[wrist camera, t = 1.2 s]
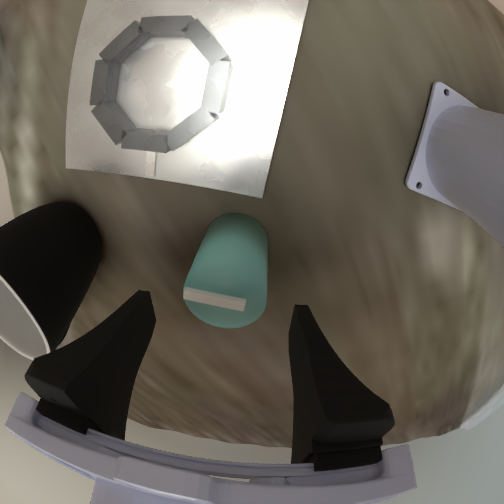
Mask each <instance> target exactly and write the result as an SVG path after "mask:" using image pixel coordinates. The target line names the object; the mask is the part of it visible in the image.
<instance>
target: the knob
mask: <svg viewBox="0 0 504 504" xmlns="http://www.w3.org/2000/svg"><path fill="white" fill-rule="evenodd" d="M267 269H268V238H267V234H266V232H265V230H264V228H263V227H262V225H261V224H260V223H259V222H258V221H257V220H255V219H254V218H252V217H250V216H248V215H245V214H240V213H229V214H225V215H222V216H220V217H218V218H216V219H215V220H214V221H213V222H212V223H211V224H210V225H209V227H208V229H207V231H206V233H205V235H204V238H203V240H202V242H201V245H200V247H199V249H198V252H197V254H196V257H195V259H194V261H193V264H192V266H191V269H190V271H189V273H188V276H187V278H186V281H185V284H184V287H183V299H184V301H185V303H186V305H187V307H188V308H189V310H190V311H191V312H192V313H193V314H194V315H195V316H196V317H197V318H199V319H200V320H202V321H204V322H205V323H208V324H210V325H213V326H217V327H222V328H238V327H243V326H246V325H249V324H251V323H253V322H254V321H256V320H257V319H258V318H259V317H260V316H261V315H262V314H263V312H264V310H265V308H266V304H267Z"/></svg>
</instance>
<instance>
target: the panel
mask: <svg viewBox="0 0 504 504" xmlns="http://www.w3.org/2000/svg"><path fill="white" fill-rule="evenodd" d="M308 1H309V0H88V1H87V4H86V7H85V11H84V14H83V18H82V22H81V25H80V30H79V34H78V38H77V43H76V48H75V53H74V58H73V64H72V70H71V77H70V85H69V94H68V105H67V120H66V168H69V169H80V170H89V171H98V172H107V173H115V174H123V175H130V176H138V177H145V178H152V179H158V180H165V181H171V182H177V183H183V184H189V185H195V186H201V187H207V188H212V189H217V190H223V191H228V192H233V193H238V194H243V195H248V196H253V197H258V198H262V197H263V192H264V188H265V184H266V180H267V175H268V171H269V167H270V162H271V158H272V154H273V150H274V145H275V141H276V137H277V132H278V128H279V124H280V120H281V115H282V111H283V107H284V103H285V98H286V94H287V90H288V86H289V81H290V77H291V73H292V69H293V64H294V60H295V56H296V52H297V48H298V43H299V39H300V35H301V31H302V26H303V22H304V18H305V14H306V10H307V5H308Z"/></svg>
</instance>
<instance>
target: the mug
mask: <svg viewBox="0 0 504 504" xmlns="http://www.w3.org/2000/svg"><path fill="white" fill-rule="evenodd" d="M100 255H101V243H100V238H99V234H98V232H97V229H96V227H95V225H94V224H93V222H92V220H91V219H90V218H89V217H88V215H87V214H86V213H85V212H84V211H82V210H81V209H80V208H78V207H77V206H75V205H73V204H70V203H65V202H54V203H49V204H46V205H43V206H40V207H37V208H35V209H32V210H30V211H28V212H26V213H24V214H22V215H20V216H18V217H16V218H15V219H13V220H11V221H10V222H8V223H6V224H5V225H3V226H1V227H0V338H1V339H2V340H3V341H4V342H6V344H8V345H9V346H10V347H12V348H13V349H14V350H15V351H17V352H18V353H20V354H21V355H23V356H25V357H27V358H29V359H31V360H34V358H36V357H39V356H42V355H45V354H47V353H50V352H53V351H55V350H56V348H57V346H58V345H59V344H60V343H61V342H62V341H63V339H64V338H65V336H66V334H67V331H68V329H69V326H70V323H71V321H72V319H73V317H74V316H75V314H76V312H77V310H78V308H79V306H80V304H81V302H82V300H83V298H84V296H85V295H86V293H87V291H88V289H89V286H90V284H91V282H92V280H93V278H94V276H95V273H96V270H97V268H98V265H99V261H100Z"/></svg>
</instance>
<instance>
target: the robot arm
mask: <svg viewBox="0 0 504 504" xmlns="http://www.w3.org/2000/svg"><path fill="white" fill-rule="evenodd" d="M444 89H445V90H446V95H445V94H444ZM417 182H420V184H419V186H418V187H416V184H417ZM405 184H406V186H407V187H408V188H409V189H411V190H413V191H416V192H418V193H421V194H423V195H425V196H428V197H430V198H433V199H435V200H437V201H440V202H442V203H444V204H447V205H449V206H451V207H453V208H455V209H458V210H460V211H462V212H464V213H465V214H466V215H468V216H469V217H470V218H471V219H472V220H474V221H475V222H476V223H477V224H478V225H479V226H481V227H482V228H483V229H484V230H485V231H486V232H487V233H488V234H490V235H491V236H492V237H493V238H494V239H495V240H496V241H497V242H498V243H499V244H500V245H501V246H502V247H503V248H504V114H500V113H496V112H492V111H488V110H483V109H480V108H478V107H477V106H476V105H474V104H473V103H472V102H470V101H469V100H467V99H466V98H465V97H463V96H462V95H460V94H459V93H457V92H456V91H454V90H453V89H451V88H450V87H448V86H447V85H445V84H444V83H442V82H435V83H434V84H433V87H432V91H431V95H430V100H429V104H428V108H427V112H426V116H425V119H424V123H423V127H422V130H421V134H420V137H419V140H418V144H417V147H416V150H415V153H414V156H413V160H412V163H411V166H410V168H409V171H408V174H407V177H406V180H405ZM155 323H156V317H155V313H154V309H153V305H152V300H151V296H150V292H149V291H141V290H139V291H137V292H136V293H135V294H134V295H133V296H132V297H131V298H129V299H128V300H127V301H126V302H125V303H124V304H123V305H122V306H121V307H119V308H118V309H117V310H116V311H115V312H114V313H113V314H111V315H110V316H109V317H108V318H106V319H105V320H104V321H103V322H101V323H100V324H99V325H98V326H96V327H95V328H94V329H92V330H91V331H89V332H88V333H86V334H85V335H83V336H82V337H80V338H78V339H77V340H75V341H73V342H71V343H70V344H68V345H66V346H64V347H62V348H60V349H57V350H55V351H53V352H50V353H47V354H45V355H42V356H39V357H36V358H34V360H33V362H32V363H31V365H30V367H29V369H28V370H27V372H26V374H25V379H26V381H27V383H28V384H29V385H30V387H31V388H32V389H33V390H34V391H35V392H36V393H37V394H38V396H39V397H40V398H41V399H40V401H39V402H38V401H37V400H35V399H34V398H32V397H30V396H28V395H27V394H25V393H23V392H20V394H19V396H18V398H17V400H16V402H15V404H14V406H13V408H12V410H11V412H10V414H9V417H8V419H7V421H6V423H5V427H6V428H7V429H8V430H10V431H11V432H12V433H14V434H15V435H16V436H17V437H19V438H20V439H21V440H23V441H24V442H25V443H27V444H28V445H30V446H31V447H33V448H34V449H36V450H38V451H39V452H41V453H43V454H44V455H46V456H48V457H50V458H51V459H53V460H55V461H57V462H58V463H60V464H62V465H64V466H66V467H68V468H70V469H72V470H74V471H76V472H78V473H80V474H82V475H84V476H87V477H89V478H91V479H93V480H95V481H96V482H95V486H94V490H93V493H92V498H91V501H90V504H372V503H376V502H380V501H384V500H388V499H391V498H394V497H397V496H399V495H402V494H405V493H407V492H410V491H412V490H415V489H416V488H417V485H416V479H415V473H414V468H413V463H412V457H411V452H410V448H409V445H408V444H406V445H401V446H397V447H393V448H389V449H385V450H383V451H381V447H380V446H381V445H382V444H383V441H382V437H383V436H384V435H385V434H386V433H387V432H388V431H390V430H391V429H392V427H393V426H394V424H395V421H394V417H393V413H392V410H391V408H390V405H389V404H388V403H387V402H385V401H384V400H383V399H381V398H380V397H378V396H377V395H376V394H374V393H373V392H372V391H371V390H370V389H368V388H367V387H366V386H365V385H364V384H363V383H362V382H361V381H360V380H359V379H358V378H357V377H356V376H355V375H354V374H353V373H352V372H351V371H350V370H349V369H348V368H347V367H346V365H345V364H344V363H343V362H342V361H341V359H340V358H339V357H338V355H337V354H336V353H335V351H334V350H333V348H332V347H331V346H330V344H329V343H328V341H327V339H326V338H325V336H324V334H323V333H322V331H321V329H320V328H319V326H318V324H317V322H316V320H315V318H314V317H313V315H312V312H311V310H310V308H309V307H308V305H295V306H294V311H293V316H292V321H291V325H290V330H289V358H290V366H291V375H292V383H293V395H294V414H293V442H292V457H291V464H257V463H240V462H229V461H219V460H211V459H204V458H197V457H191V456H186V455H180V454H175V453H170V452H166V451H161V450H157V449H153V448H149V447H144V446H141V445H138V444H134V443H131V442H127V441H125V430H126V421H127V415H128V409H129V403H130V399H131V394H132V390H133V386H134V382H135V378H136V375H137V372H138V369H139V367H140V364H141V362H142V359H143V357H144V355H145V352H146V350H147V347H148V345H149V342H150V340H151V337H152V334H153V331H154V327H155ZM208 475H213V476H221V477H230V478H243V479H251V480H250V481H249V482H242V481H234V480H227V479H221V478H215V477H210V476H208Z"/></svg>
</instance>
